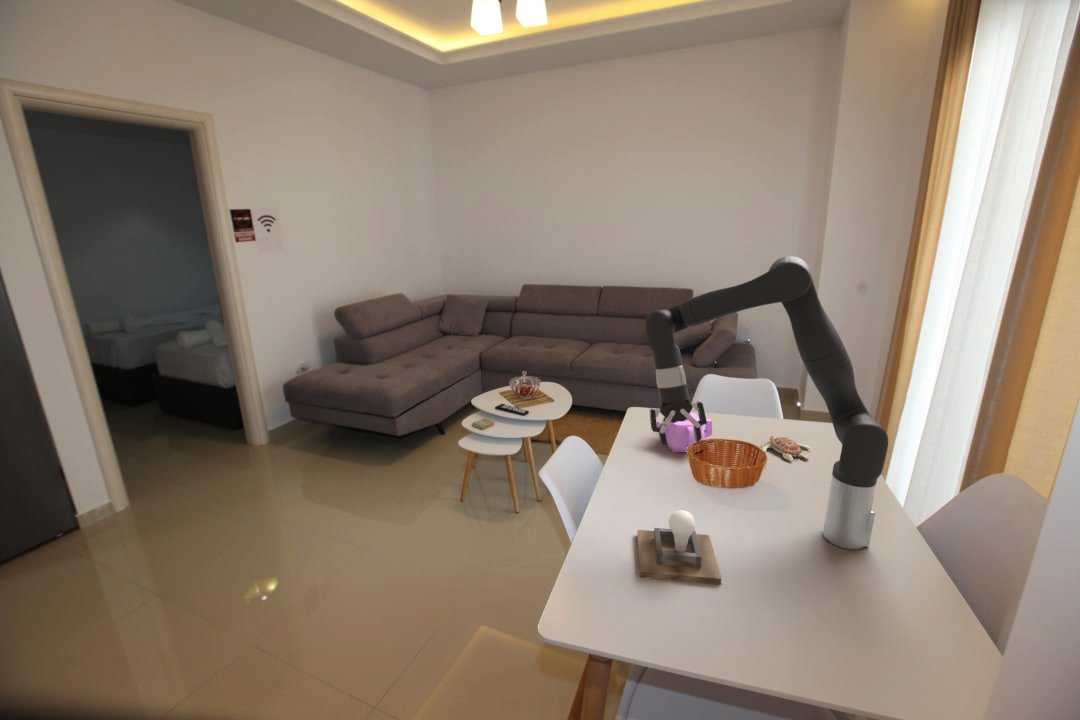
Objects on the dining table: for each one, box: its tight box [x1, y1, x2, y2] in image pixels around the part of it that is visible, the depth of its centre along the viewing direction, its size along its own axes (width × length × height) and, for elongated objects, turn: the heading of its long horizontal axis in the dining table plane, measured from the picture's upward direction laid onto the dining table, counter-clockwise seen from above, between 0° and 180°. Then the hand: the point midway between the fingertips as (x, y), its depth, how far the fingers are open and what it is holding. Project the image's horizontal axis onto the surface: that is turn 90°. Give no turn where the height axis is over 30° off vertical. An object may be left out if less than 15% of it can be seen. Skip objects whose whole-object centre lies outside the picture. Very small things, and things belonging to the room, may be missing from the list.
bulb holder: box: [636, 527, 722, 585], centre depth 117 cm, size 18×16×4 cm
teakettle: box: [656, 412, 713, 454], centre depth 176 cm, size 17×17×12 cm
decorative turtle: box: [759, 435, 811, 461], centre depth 170 cm, size 18×17×5 cm
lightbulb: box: [668, 509, 696, 552], centre depth 116 cm, size 6×6×11 cm
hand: (681, 443), depth 129 cm, fingers open, 8 cm apart
